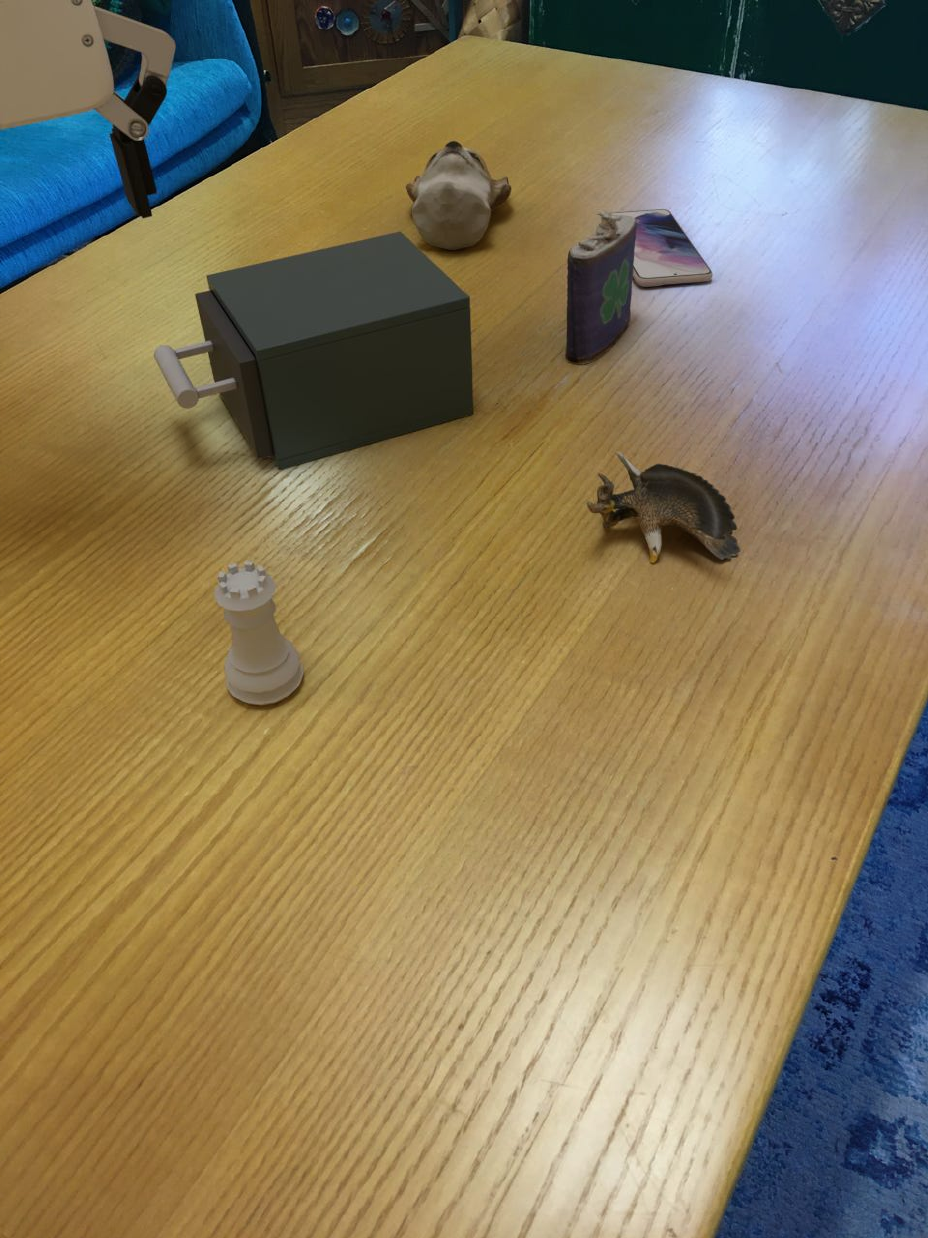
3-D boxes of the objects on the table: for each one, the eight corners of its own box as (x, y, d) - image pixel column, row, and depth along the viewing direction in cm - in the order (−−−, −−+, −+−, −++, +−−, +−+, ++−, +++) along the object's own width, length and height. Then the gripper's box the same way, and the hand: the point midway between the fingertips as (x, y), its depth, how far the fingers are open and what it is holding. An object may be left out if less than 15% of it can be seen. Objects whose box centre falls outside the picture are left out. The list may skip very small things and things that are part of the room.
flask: (608, 312, 92) (617, 188, 85) (639, 320, 91) (651, 195, 84) (557, 360, 87) (562, 231, 79) (590, 369, 85) (597, 239, 78)
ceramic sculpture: (387, 164, 95) (407, 117, 106) (393, 259, 100) (412, 205, 112) (506, 165, 94) (514, 117, 106) (505, 261, 100) (513, 206, 111)
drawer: (200, 476, 75) (176, 378, 69) (161, 399, 82) (137, 306, 77) (442, 408, 80) (437, 312, 75) (385, 341, 88) (377, 250, 82)
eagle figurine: (586, 569, 66) (736, 568, 63) (583, 452, 65) (735, 446, 62) (610, 556, 73) (745, 555, 70) (607, 451, 72) (745, 445, 69)
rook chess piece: (218, 667, 62) (190, 563, 57) (292, 644, 63) (271, 540, 58) (237, 719, 59) (210, 615, 54) (314, 694, 60) (294, 589, 55)
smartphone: (668, 207, 106) (715, 273, 95) (667, 215, 106) (714, 282, 95) (599, 212, 105) (638, 279, 94) (598, 220, 106) (637, 288, 95)
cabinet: (278, 470, 77) (256, 350, 70) (229, 388, 85) (205, 274, 78) (473, 414, 81) (470, 296, 75) (408, 342, 90) (400, 230, 83)
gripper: (107, -182, 52) (188, 174, 64) (-282, -136, 47) (-117, 242, 58) (144, -167, 47) (225, 217, 58) (-288, -114, 42) (-106, 295, 53)
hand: (54, 229), depth 58 cm, fingers open, 9 cm apart
